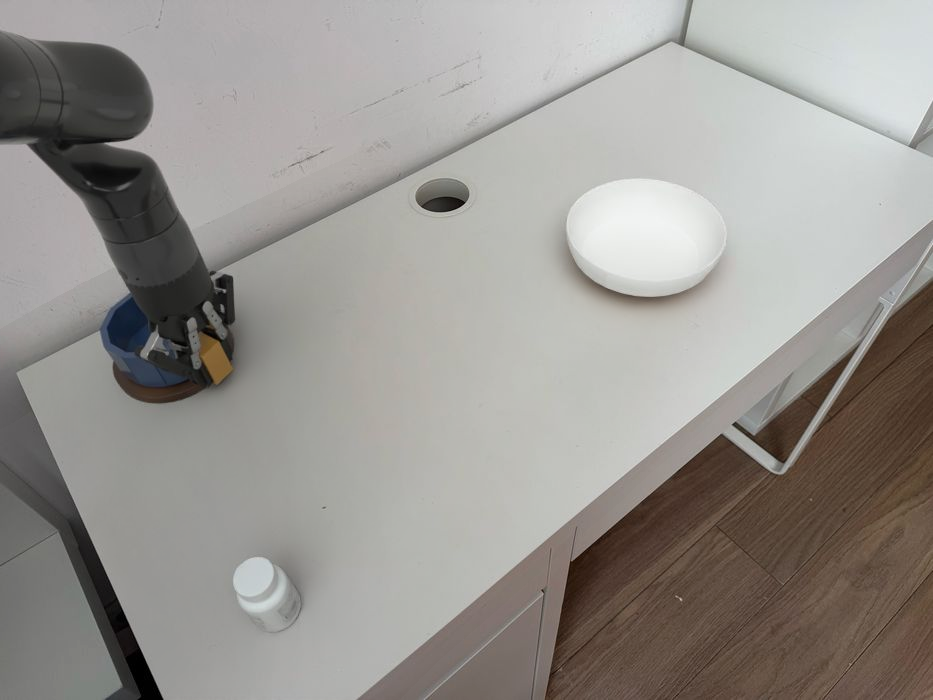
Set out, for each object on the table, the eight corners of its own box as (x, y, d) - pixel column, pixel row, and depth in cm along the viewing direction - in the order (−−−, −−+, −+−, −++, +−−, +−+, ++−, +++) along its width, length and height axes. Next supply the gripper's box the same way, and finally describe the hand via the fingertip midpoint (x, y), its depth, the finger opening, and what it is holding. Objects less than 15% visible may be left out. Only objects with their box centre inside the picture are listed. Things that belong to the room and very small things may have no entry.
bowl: (740, 247, 90) (752, 209, 86) (675, 341, 81) (685, 305, 76) (608, 197, 98) (612, 161, 94) (535, 277, 89) (536, 241, 84)
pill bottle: (297, 578, 65) (275, 543, 59) (305, 623, 62) (283, 591, 56) (250, 594, 64) (224, 560, 58) (256, 640, 61) (229, 609, 55)
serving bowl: (101, 362, 81) (79, 332, 77) (174, 301, 88) (157, 270, 83) (189, 415, 76) (170, 386, 72) (261, 345, 82) (247, 315, 78)
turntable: (138, 424, 77) (133, 418, 76) (102, 348, 85) (98, 342, 84) (252, 364, 82) (249, 358, 81) (209, 298, 90) (205, 291, 89)
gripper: (139, 316, 61) (203, 428, 74) (233, 222, 69) (276, 338, 82) (75, 295, 63) (148, 407, 76) (174, 207, 72) (225, 322, 84)
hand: (214, 371), depth 79 cm, fingers closed on serving bowl, 3 cm apart
